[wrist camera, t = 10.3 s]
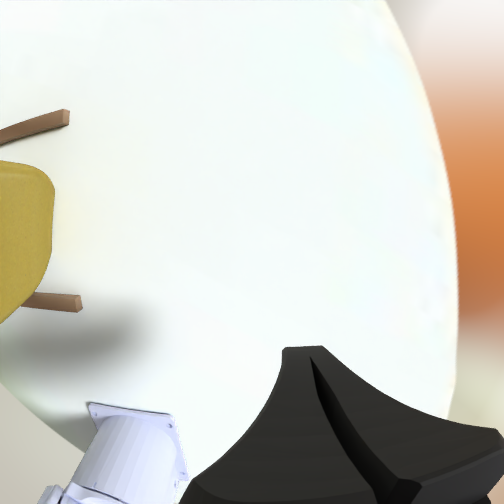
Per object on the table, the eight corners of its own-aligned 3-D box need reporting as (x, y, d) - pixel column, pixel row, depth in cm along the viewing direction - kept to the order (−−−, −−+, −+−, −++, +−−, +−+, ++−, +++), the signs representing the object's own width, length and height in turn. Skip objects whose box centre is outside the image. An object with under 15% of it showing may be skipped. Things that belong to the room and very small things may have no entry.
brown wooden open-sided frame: (82, 308, 19) (77, 312, 19) (-24, 296, 20) (-29, 299, 19) (69, 110, 16) (63, 108, 16) (-37, 148, 17) (-43, 148, 16)
